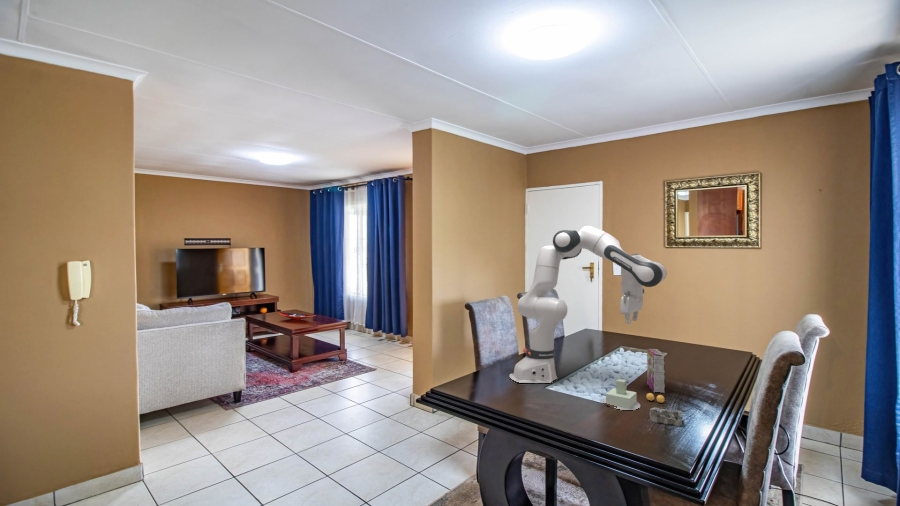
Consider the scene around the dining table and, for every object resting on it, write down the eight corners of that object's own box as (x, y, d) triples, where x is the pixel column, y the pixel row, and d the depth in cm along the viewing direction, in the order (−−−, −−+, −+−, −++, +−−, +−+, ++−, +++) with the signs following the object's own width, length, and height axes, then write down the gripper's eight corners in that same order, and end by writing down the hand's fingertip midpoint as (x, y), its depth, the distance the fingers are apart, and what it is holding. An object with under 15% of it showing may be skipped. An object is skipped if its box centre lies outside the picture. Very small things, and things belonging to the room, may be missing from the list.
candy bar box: (646, 384, 197) (646, 348, 197) (658, 385, 196) (658, 348, 196) (652, 392, 186) (652, 354, 186) (665, 393, 185) (665, 355, 185)
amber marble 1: (649, 402, 175) (649, 394, 175) (644, 399, 178) (644, 392, 178) (656, 401, 176) (656, 394, 176) (651, 399, 179) (651, 391, 179)
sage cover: (606, 403, 172) (605, 381, 172) (613, 397, 179) (613, 375, 179) (629, 409, 167) (629, 385, 167) (636, 402, 174) (636, 379, 174)
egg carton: (648, 422, 156) (648, 411, 156) (650, 415, 162) (650, 404, 162) (682, 428, 151) (682, 416, 151) (682, 420, 157) (682, 409, 157)
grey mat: (614, 412, 165) (614, 410, 165) (596, 399, 179) (596, 398, 179) (648, 409, 167) (648, 408, 167) (627, 397, 181) (627, 396, 181)
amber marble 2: (659, 404, 173) (659, 396, 173) (654, 401, 176) (654, 394, 176) (666, 403, 173) (666, 396, 173) (661, 401, 176) (661, 393, 176)
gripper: (631, 293, 183) (631, 326, 183) (645, 289, 199) (645, 319, 199) (616, 292, 187) (616, 324, 187) (631, 288, 203) (631, 318, 203)
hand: (631, 321), depth 193 cm, fingers open, 8 cm apart
